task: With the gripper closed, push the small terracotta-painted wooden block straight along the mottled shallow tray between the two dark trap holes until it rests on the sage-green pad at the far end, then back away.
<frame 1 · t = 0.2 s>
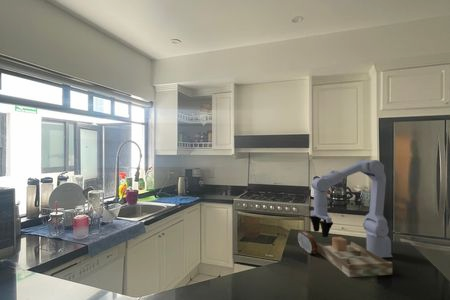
hand: (320, 234, 111), 10 cm above the countertop, fingers open, 7 cm apart
tin: (306, 251, 117), on the countertop
block: (339, 248, 113), point 2 cm above the countertop, touching mottled shallow tray
mottled shallow tray: (351, 261, 104), on the countertop
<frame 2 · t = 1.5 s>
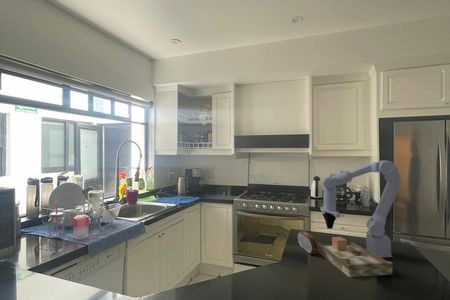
hand: (329, 228, 121), 9 cm above the countertop, fingers closed
nothing on the countertop moved.
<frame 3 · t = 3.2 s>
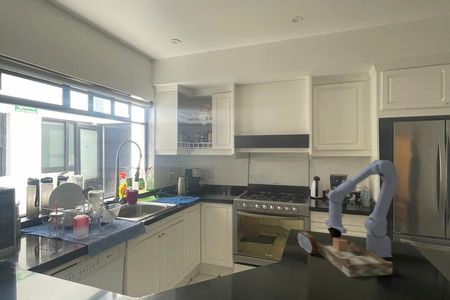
hand: (335, 243, 116), 4 cm above the countertop, fingers closed
block: (340, 248, 112), point 3 cm above the countertop, touching mottled shallow tray, gripper
everything else where it was.
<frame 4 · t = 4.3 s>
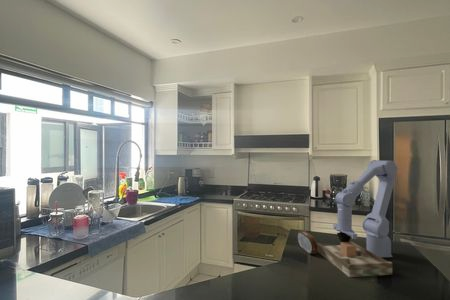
hand: (344, 249, 109), 4 cm above the countertop, fingers closed, pressing on block
block: (348, 254, 106), point 3 cm above the countertop, touching mottled shallow tray, gripper
everything else where it was.
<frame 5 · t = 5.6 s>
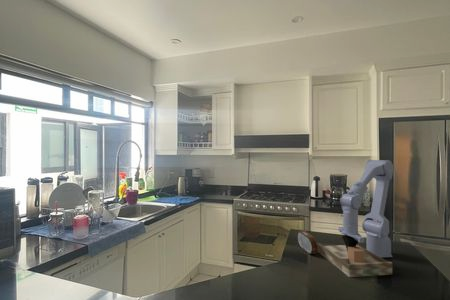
hand: (350, 253, 105), 4 cm above the countertop, fingers closed
block: (355, 259, 101), point 3 cm above the countertop, touching mottled shallow tray, gripper
everything else where it was.
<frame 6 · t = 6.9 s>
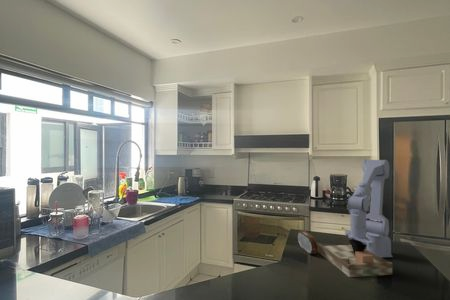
hand: (358, 258, 100), 4 cm above the countertop, fingers closed
block: (364, 265, 96), point 2 cm above the countertop, touching mottled shallow tray, gripper
everything else where it was.
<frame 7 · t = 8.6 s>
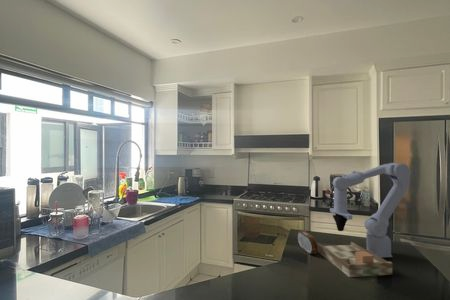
hand: (340, 230, 116), 10 cm above the countertop, fingers closed
block: (364, 265, 96), point 2 cm above the countertop, touching mottled shallow tray
everything else where it was.
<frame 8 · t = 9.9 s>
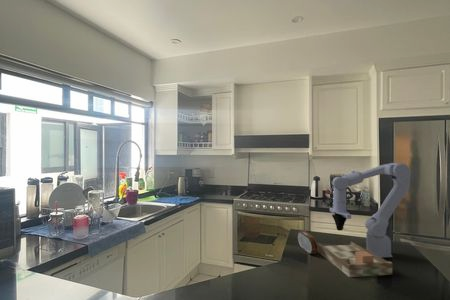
hand: (339, 229, 117), 10 cm above the countertop, fingers closed
nothing on the countertop moved.
at the end: block 0.4 cm from the target spot on the mottled shallow tray, point 2.5 cm above the mottled shallow tray's base; block tilted 0°; block touching mottled shallow tray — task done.
